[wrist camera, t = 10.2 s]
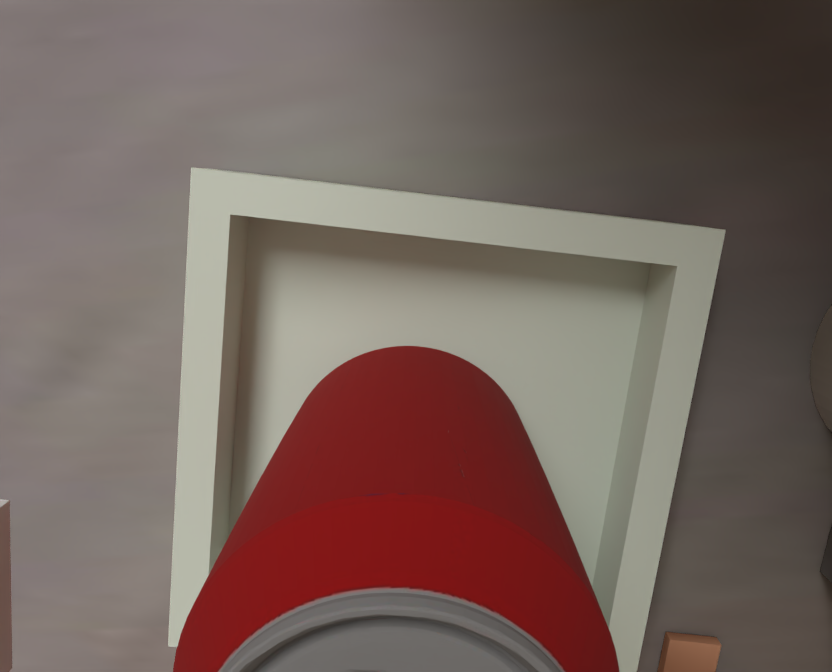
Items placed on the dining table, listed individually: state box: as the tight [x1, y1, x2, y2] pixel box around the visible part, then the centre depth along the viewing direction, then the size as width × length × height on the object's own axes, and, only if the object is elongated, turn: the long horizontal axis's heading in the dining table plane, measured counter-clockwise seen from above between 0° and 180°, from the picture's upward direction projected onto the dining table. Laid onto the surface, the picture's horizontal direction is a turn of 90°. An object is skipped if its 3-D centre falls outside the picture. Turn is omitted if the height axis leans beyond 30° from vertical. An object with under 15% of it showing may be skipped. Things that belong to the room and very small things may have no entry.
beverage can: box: [173, 346, 619, 672], centre depth 15 cm, size 7×7×12 cm
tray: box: [168, 168, 726, 672], centre depth 20 cm, size 13×13×2 cm
